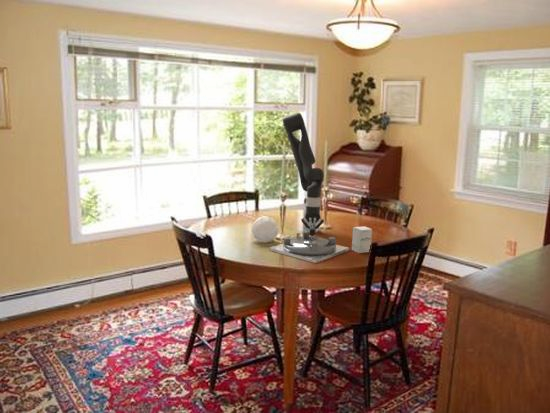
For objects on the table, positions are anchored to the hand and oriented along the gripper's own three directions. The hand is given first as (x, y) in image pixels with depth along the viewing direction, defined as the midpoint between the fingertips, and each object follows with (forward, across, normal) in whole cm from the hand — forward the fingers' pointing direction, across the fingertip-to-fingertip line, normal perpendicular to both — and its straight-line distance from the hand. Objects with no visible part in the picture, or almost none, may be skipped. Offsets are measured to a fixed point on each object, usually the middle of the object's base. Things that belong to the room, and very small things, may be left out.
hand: (312, 235), depth 276 cm
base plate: (+5, -1, -12) cm, 13 cm away
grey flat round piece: (+3, -1, -12) cm, 13 cm away
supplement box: (+5, +26, -8) cm, 28 cm away
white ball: (+5, -26, +1) cm, 27 cm away
